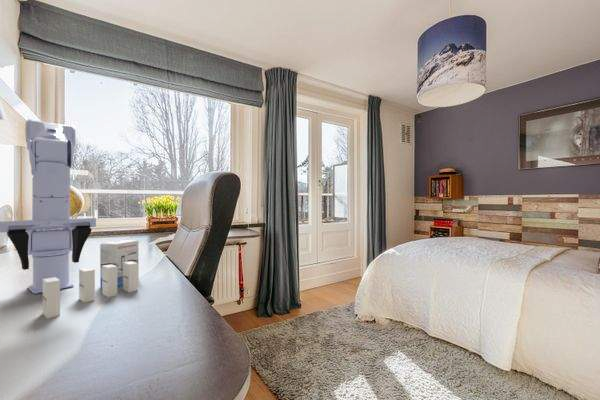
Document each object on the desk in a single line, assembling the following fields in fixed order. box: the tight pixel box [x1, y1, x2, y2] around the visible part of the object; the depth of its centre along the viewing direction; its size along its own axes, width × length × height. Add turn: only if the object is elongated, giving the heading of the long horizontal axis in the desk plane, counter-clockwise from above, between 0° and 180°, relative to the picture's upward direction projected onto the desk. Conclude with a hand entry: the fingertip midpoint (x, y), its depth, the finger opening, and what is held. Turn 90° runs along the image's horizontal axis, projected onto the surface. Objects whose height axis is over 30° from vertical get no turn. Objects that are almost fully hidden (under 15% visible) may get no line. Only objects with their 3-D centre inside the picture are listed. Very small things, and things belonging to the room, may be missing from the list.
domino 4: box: [122, 261, 139, 293], centre depth 72 cm, size 4×2×7 cm, turn 51°
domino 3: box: [101, 264, 118, 298], centre depth 69 cm, size 4×2×7 cm, turn 51°
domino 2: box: [78, 267, 96, 303], centre depth 65 cm, size 4×2×7 cm, turn 51°
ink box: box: [99, 239, 139, 288], centre depth 78 cm, size 9×5×12 cm, turn 168°
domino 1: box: [42, 277, 61, 319], centre depth 56 cm, size 4×2×7 cm, turn 51°
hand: (51, 265), depth 56 cm, fingers open, 7 cm apart
